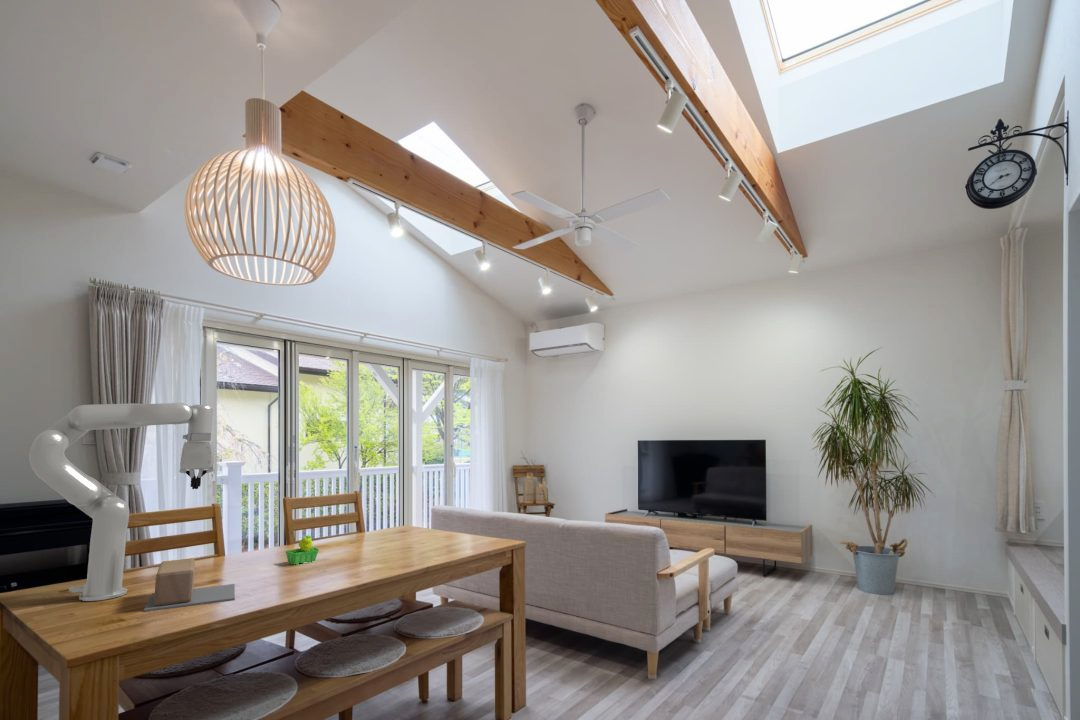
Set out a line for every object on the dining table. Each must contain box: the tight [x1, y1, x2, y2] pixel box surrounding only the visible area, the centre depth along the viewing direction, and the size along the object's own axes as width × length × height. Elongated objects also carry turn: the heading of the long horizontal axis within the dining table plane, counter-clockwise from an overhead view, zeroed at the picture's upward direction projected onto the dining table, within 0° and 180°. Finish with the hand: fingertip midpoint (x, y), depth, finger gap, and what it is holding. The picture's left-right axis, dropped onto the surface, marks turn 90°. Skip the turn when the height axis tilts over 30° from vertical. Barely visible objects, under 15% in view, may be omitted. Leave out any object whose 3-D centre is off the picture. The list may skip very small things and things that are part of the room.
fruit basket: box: [285, 534, 320, 566], centre depth 233 cm, size 11×9×11 cm
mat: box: [143, 583, 236, 612], centre depth 183 cm, size 24×20×1 cm
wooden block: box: [154, 558, 196, 606], centre depth 182 cm, size 10×10×20 cm
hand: (195, 488), depth 205 cm, fingers closed
